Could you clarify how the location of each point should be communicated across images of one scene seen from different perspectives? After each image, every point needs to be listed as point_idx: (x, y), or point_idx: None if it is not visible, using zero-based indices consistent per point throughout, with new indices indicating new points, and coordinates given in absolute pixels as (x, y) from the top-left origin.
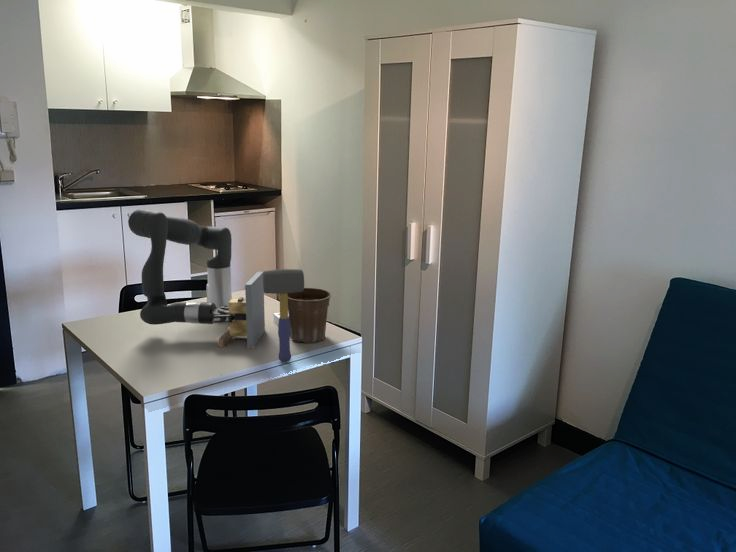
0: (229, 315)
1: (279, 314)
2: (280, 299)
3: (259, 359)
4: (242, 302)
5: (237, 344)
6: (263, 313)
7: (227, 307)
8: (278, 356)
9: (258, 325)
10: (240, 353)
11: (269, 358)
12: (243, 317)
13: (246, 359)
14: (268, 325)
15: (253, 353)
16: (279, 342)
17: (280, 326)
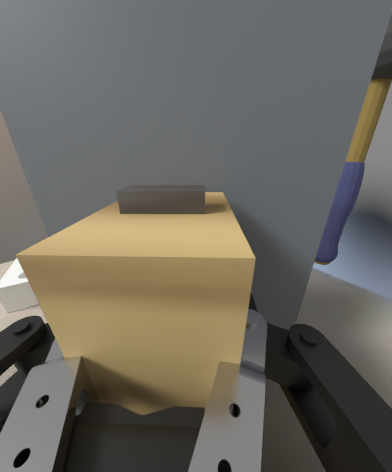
0: (323, 343)
1: (19, 276)
2: (384, 101)
3: (348, 299)
4: (222, 201)
5: (266, 407)
6: None
7: (23, 447)
8: (331, 257)
9: None
10: (354, 363)
11: (323, 282)
12: None
13: (382, 330)
14: (43, 321)
15: (320, 320)
16: (342, 225)
17: (360, 183)
